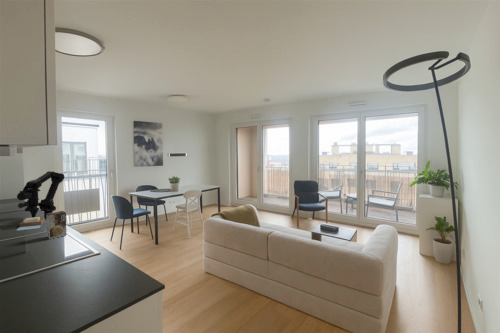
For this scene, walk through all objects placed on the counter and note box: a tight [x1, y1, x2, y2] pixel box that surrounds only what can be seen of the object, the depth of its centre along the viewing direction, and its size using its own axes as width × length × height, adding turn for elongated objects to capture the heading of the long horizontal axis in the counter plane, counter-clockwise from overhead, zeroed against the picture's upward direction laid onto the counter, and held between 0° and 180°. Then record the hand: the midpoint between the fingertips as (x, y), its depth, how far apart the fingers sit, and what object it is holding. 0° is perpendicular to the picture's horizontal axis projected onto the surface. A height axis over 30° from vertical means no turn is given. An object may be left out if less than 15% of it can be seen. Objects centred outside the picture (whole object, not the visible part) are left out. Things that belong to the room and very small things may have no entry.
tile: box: [22, 216, 41, 223], centre depth 177 cm, size 6×8×2 cm
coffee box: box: [45, 210, 68, 240], centre depth 156 cm, size 9×6×16 cm
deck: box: [18, 216, 46, 228], centre depth 180 cm, size 13×12×3 cm
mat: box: [16, 225, 42, 232], centre depth 171 cm, size 8×12×1 cm, turn 122°
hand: (33, 217), depth 182 cm, fingers closed
